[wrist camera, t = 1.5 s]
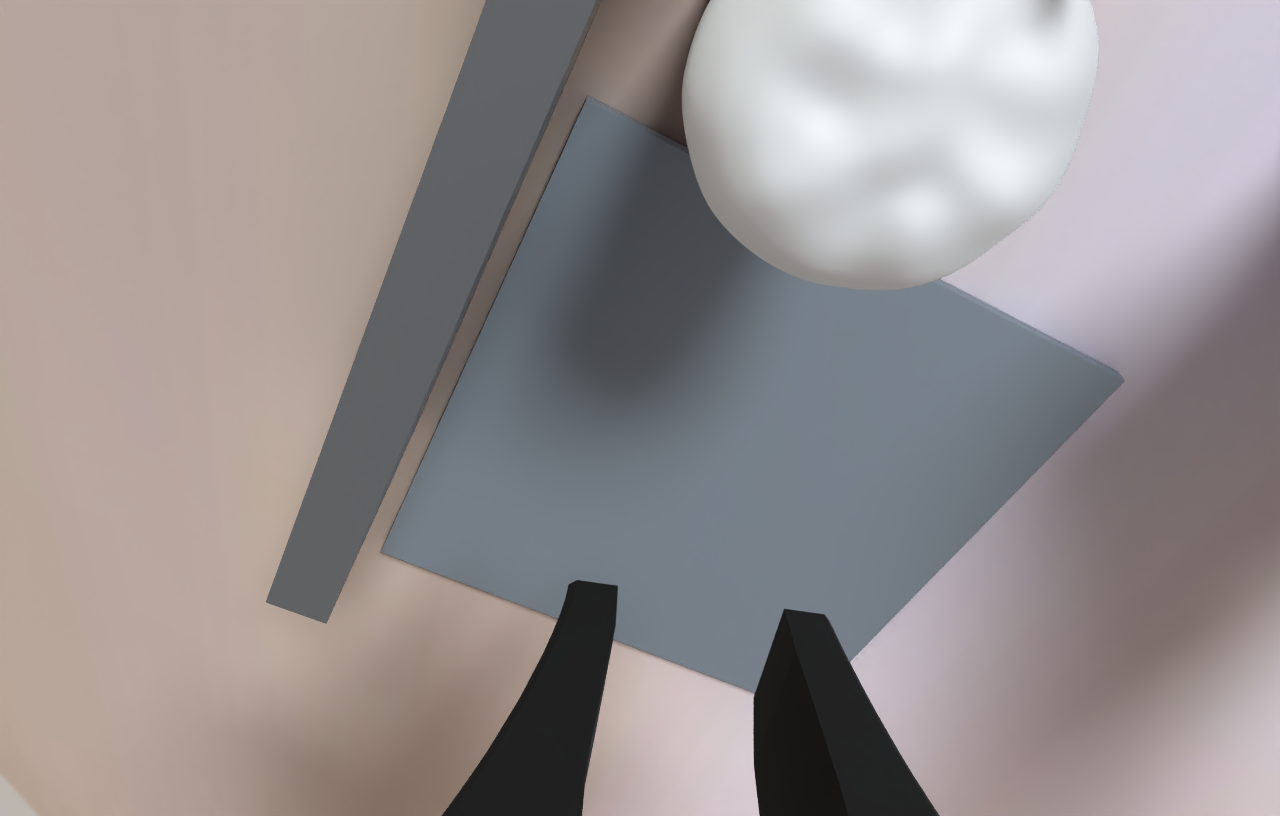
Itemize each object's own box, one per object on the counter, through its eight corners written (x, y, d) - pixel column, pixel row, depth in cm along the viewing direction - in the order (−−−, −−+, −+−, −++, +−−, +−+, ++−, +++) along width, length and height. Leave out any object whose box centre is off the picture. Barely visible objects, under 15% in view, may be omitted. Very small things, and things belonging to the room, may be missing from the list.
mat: (1117, 372, 21) (1124, 380, 20) (800, 700, 28) (802, 710, 28) (587, 95, 18) (585, 100, 17) (384, 542, 25) (380, 552, 25)
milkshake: (1013, -59, 16) (1368, 64, 8) (801, 160, 18) (896, 434, 10) (843, -258, 14) (1054, -374, 6) (636, 8, 17) (587, 184, 9)
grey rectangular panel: (892, -557, 12) (1058, -871, 7) (434, 443, 22) (352, 642, 17) (744, -669, 12) (795, -1108, 6) (344, 406, 22) (229, 599, 16)
